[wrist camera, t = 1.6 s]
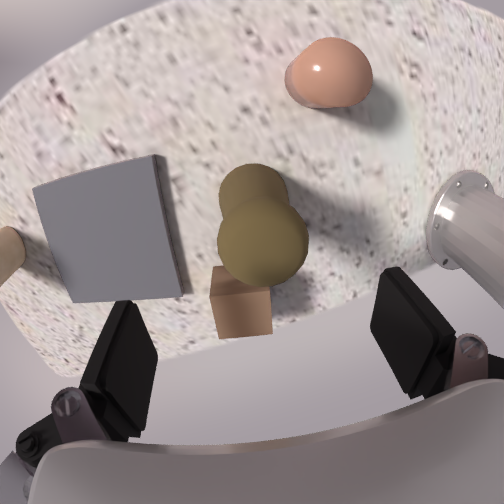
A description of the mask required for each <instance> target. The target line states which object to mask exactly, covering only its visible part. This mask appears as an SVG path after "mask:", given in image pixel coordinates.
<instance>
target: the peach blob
mask: <svg viewBox="0 0 504 504" xmlns="http://www.w3.org/2000/svg"><path fill="white" fill-rule="evenodd" d="M372 81H373V74H372V69H371V66H370V63H369V61H368V59H367V57H366V56H365V55H364V53H363V52H362V51H361V50H360V49H359V48H358V47H356V46H355V45H354V44H352V43H350V42H348V41H346V40H343V39H340V38H332V37H329V38H323V39H319V40H317V41H315V42H313V43H312V44H311V45H310V46H308V47H307V48H306V49H305V50H304V51H303V52H302V53H301V54H300V55H299V56H297V57H296V58H295V59H294V60H293V61H292V62H291V63H290V64H289V66H288V67H287V70H286V73H285V85H286V88H287V91H288V93H289V94H290V96H291V97H292V98H293V99H294V100H295V101H296V102H298V103H299V104H301V105H303V106H305V107H308V108H314V109H318V108H332V107H347V106H352V105H355V104H357V103H359V102H361V101H362V100H363V99H364V98H365V97H366V96H367V95H368V93H369V91H370V89H371V86H372Z"/></svg>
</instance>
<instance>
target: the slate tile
mask: <svg viewBox="0 0 504 504" xmlns="http://www.w3.org/2000/svg"><path fill="white" fill-rule="evenodd" d="M32 190H33V194H34V198H35V202H36V206H37V209H38V213H39V216H40V219H41V223H42V226H43V229H44V232H45V235H46V238H47V241H48V244H49V246H50V249H51V252H52V255H53V257H54V260H55V262H56V265H57V268H58V270H59V272H60V275H61V277H62V280H63V282H64V284H65V286H66V289H67V291H68V293H69V295H70V298H71V300H72V302H73V303H90V302H111V301H121V300H145V299H159V298H173V297H183V293H184V289H183V286H182V282H181V278H180V274H179V270H178V266H177V262H176V258H175V254H174V249H173V245H172V241H171V236H170V232H169V227H168V223H167V218H166V213H165V208H164V203H163V198H162V193H161V188H160V182H159V177H158V171H157V165H156V159H155V154H153V155H148V156H144V157H139V158H134V159H130V160H125V161H121V162H117V163H113V164H109V165H105V166H101V167H97V168H93V169H90V170H86V171H83V172H79V173H76V174H72V175H69V176H66V177H63V178H60V179H56V180H53V181H50V182H47V183H44V184H41V185H39V186H36V187H34V188H32Z"/></svg>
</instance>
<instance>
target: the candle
mask: <svg viewBox="0 0 504 504" xmlns="http://www.w3.org/2000/svg"><path fill="white" fill-rule="evenodd" d="M25 257H26V252H25V247H24V244H23V241H22V239H21V237H20V236H19V234H18V233H17V232H16V231H15V230H14V229H13V228H11V227H7V226H6V227H3V228H1V229H0V287H1V286H2V284H3V283H4V282H5V281H6V280H7V279H8V278H9V277H10V276H11V275H12V274H13V273H14V272H15V271H16V270H17V269H18V268H19V267H20V266H21V265H22V264H23V263H24V261H25Z"/></svg>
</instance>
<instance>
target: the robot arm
mask: <svg viewBox="0 0 504 504" xmlns="http://www.w3.org/2000/svg"><path fill="white" fill-rule="evenodd" d="M426 239H427V246H428V250H429V253H430V255H431V256H432V258H433V259H434V260H435V261H436V262H437V263H438V264H439V265H440V266H441V267H443V268H446V269H451V270H454V269H458V268H462V269H463V270H465V271H466V272H467V273H468V274H469V275H470V276H471V277H472V278H473V279H474V280H475V281H476V282H477V283H478V284H480V286H481V287H483V288H484V289H485V290H486V291H487V292H488V293H489V294H490V295H491V296H492V297H493V298H494V300H495V301H496V302H497V303H498V304H499V305H500V306H501V307H502V308H503V309H504V199H503V198H502V197H500V196H498V195H496V194H495V193H494V190H493V187H492V185H491V183H490V181H489V180H488V179H487V178H486V177H485V176H484V175H482V174H481V173H478V172H476V171H473V170H465V171H460V172H459V173H457V174H455V175H453V176H452V177H451V178H450V179H449V180H447V182H446V183H445V184H444V185H443V186H442V188H441V189H440V191H439V192H438V194H437V196H436V198H435V200H434V202H433V204H432V207H431V210H430V213H429V217H428V222H427V231H426ZM370 329H371V332H372V334H373V336H374V338H375V340H376V341H377V343H378V345H379V347H380V349H381V351H382V352H383V354H384V356H385V358H386V360H387V362H388V363H389V365H390V367H391V369H392V371H393V373H394V374H395V377H396V379H397V380H398V382H399V384H400V386H401V388H402V390H403V392H404V393H405V394H407V393H408V395H409V397H410V399H413V398H416V397H418V396H421V395H423V397H424V400H422V401H420V402H417V403H414V404H412V405H409V406H406V407H404V408H401V409H398V410H395V411H393V412H390V413H387V414H384V415H381V416H378V417H374V418H371V419H368V420H365V421H361V422H357V423H354V424H350V425H347V426H342V427H339V428H334V429H330V430H326V431H321V432H316V433H312V434H307V435H301V436H296V437H289V438H283V439H276V440H268V441H261V442H250V443H239V444H224V445H159V444H141V443H130V442H128V438H129V437H138V438H140V435H141V431H144V430H145V427H146V419H147V414H148V408H149V403H150V397H151V392H152V386H153V381H154V376H155V371H156V366H157V361H158V354H157V351H156V349H155V347H154V344H153V342H152V340H151V338H150V335H149V333H148V331H147V328H146V326H145V323H144V321H143V319H142V316H141V314H140V311H139V309H138V306H137V304H135V303H133V302H132V301H131V300H121V301H116V302H115V304H114V306H113V308H112V310H111V312H110V314H109V316H108V318H107V321H106V323H105V325H104V327H103V329H102V331H101V334H100V336H99V338H98V340H97V343H96V345H95V347H94V350H93V352H92V354H91V357H90V359H89V361H88V364H87V366H86V369H85V371H84V374H83V376H82V379H81V382H80V386H79V388H75V387H67V388H65V389H62V390H61V391H59V392H58V393H57V394H56V395H55V397H54V398H53V401H52V404H51V410H52V413H51V414H50V415H48V416H47V417H45V418H43V419H42V420H40V421H39V422H37V423H36V424H34V425H32V426H31V427H29V428H27V429H26V430H24V431H23V432H22V433H20V435H19V436H18V438H17V441H16V453H15V452H14V451H12V452H11V453H10V454H9V455H8V456H7V458H6V459H5V460H4V461H3V462H2V463H1V465H0V504H504V358H500V357H497V356H494V355H491V354H488V349H487V346H486V344H485V342H484V341H483V340H482V339H481V338H480V337H478V336H477V335H474V334H468V333H466V334H462V335H460V336H459V337H458V338H456V336H455V333H456V331H455V330H454V329H453V327H452V326H451V325H450V324H449V322H448V321H447V320H446V319H445V318H444V317H443V315H442V314H441V313H440V312H439V310H438V309H437V308H436V307H435V306H434V305H433V303H431V301H430V300H429V299H428V298H427V297H426V295H425V294H424V293H423V292H422V291H421V290H420V289H419V288H418V286H417V285H416V284H415V283H414V282H413V281H412V280H411V279H410V278H409V277H408V275H407V274H406V273H405V272H404V271H403V270H402V269H401V268H400V267H392V268H386V269H385V270H384V272H383V273H381V275H380V279H379V284H378V290H377V295H376V300H375V305H374V310H373V314H372V319H371V323H370Z"/></svg>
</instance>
